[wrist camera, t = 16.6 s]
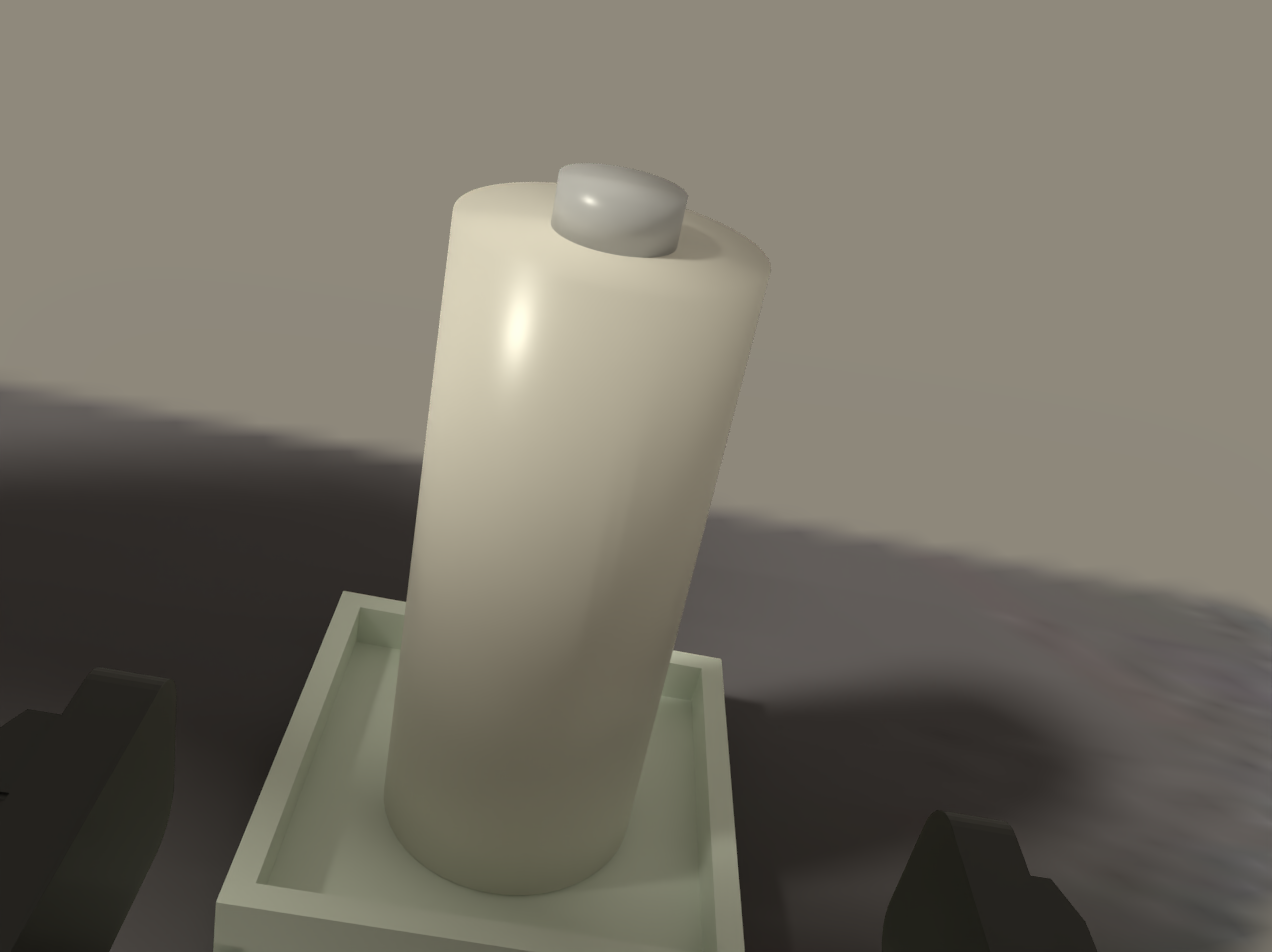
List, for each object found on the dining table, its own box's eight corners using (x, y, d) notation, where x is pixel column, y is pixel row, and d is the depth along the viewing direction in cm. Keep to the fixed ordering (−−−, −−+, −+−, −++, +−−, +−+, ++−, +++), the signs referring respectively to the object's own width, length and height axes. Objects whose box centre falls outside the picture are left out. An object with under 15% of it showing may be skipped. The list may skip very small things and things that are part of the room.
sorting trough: (212, 962, 20) (216, 902, 19) (337, 641, 28) (343, 590, 27) (726, 1039, 21) (747, 984, 20) (706, 706, 29) (720, 659, 28)
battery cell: (357, 872, 22) (431, 196, 16) (410, 697, 26) (483, 116, 20) (624, 913, 22) (799, 268, 16) (631, 733, 26) (770, 174, 20)
